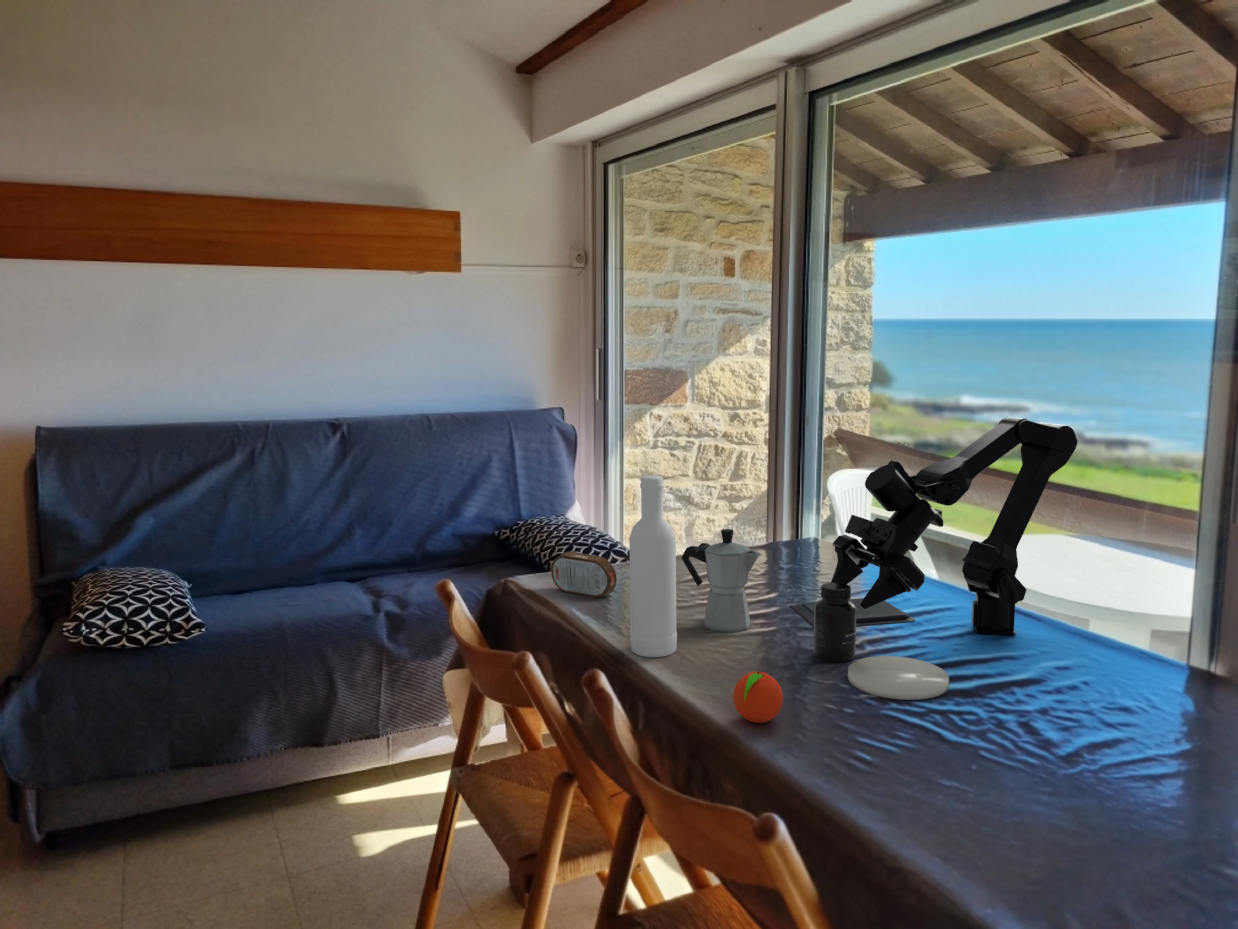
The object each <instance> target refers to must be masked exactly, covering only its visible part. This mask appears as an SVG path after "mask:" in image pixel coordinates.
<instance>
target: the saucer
mask: <svg viewBox="0 0 1238 929" xmlns="http://www.w3.org/2000/svg"><path fill="white" fill-rule="evenodd" d="M847 679H848V681H849V683H850V684H851V685H852V687H855V688H856V689H858V690H859V691H861V692H865V693H867V694H869V695H872V696H876V697H881V698H887V699H892V700H902V701H903V700H905V701H913V700H914V701H915V700H927V699H932V698H935V697H939V696H941V695H943V694H945V693H946V692H947V691H948V689H949V687H950V686H949V685H950V684H949V683H950V677H949V674H948V673H947V672H946V671H945V669H943V668H941V667H939V666H937V665H935V664H933V663H930V662H928V661H923V660H920V659H915V658H911V657H904V656H891V655H888V656H886V655H883V656H882V655H881V656H870V657H869V656H868V657H866V658H861V659H858V660H856V661H854V662H852V663H851V664H849V666H848V667H847Z"/></svg>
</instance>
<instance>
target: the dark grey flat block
mask: <svg viewBox="0 0 1238 929" xmlns="http://www.w3.org/2000/svg"><path fill="white" fill-rule="evenodd" d="M863 599H864V598H854V599H852V598H851V599H849V600H850V601H851V602H852V603H854V605H855V606H856V612H857V613H856V628H857V627H866V626H869V627H870V626H880V625H894V624H896V625H897V624H909V623H916V619H915V618H914V617H912V616H911V615H909V614H908V613H906V612H904V611H902V610H901V609H899V608H898V607H896V606H895V605H893V604H891V603H890V602H888V601H886V600H884V601H882V602H880V603H878V604H875V605H873V606H871V607H869V608H867V609H863V608H862V607H861V605H860V604H861V602H862V601H863ZM817 602H818V601H813V602H802V603H800V604H790V605H789V607H790V608H791V610H793V611H794V612H795V613H796V614H797V615H798V616H799V617H801V618H802V619H803V620H804V621H806V622H807V623H808V624H809V625H810V626H812V627H813V628H814V611H815V605H816V603H817Z"/></svg>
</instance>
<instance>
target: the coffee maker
mask: <svg viewBox="0 0 1238 929" xmlns="http://www.w3.org/2000/svg"><path fill="white" fill-rule="evenodd" d="M720 533H721V540H722V542H718V543H714V544H710V543H708V542H702V543H700V544H699V545H697V546H695V545H691V546H687V547H686V548H685V550H684V552H683V554H682V556H681V561H682V562H683V563H684V565H685V567H686V569H687V570H688V572H689V574H690V575H691V577H692V579H693V581H694V583H695V584H696V586H697V587H700V585H702V583H703V580H702V578H701V576H700V575H699V573H698V572H697V570H696V568H695V567H694V566H695V565H693V563H692V561H691V559H690V557H692V558H694V559H696V560H698V561H700V562H703V563H705V569H706V574H707V576H706V577H707V582H708V583H709V585H710V589H709V590H708V597H707V601H706V602H707V603H706V608H705V615H704V621H703V627H705V628H706V629H708V630H711V631H712V632H718V633H727V634H728V633H730V634H732V633H738V632H744V631H747V630H748V629H749V628H750V626H751V618H750V612H749V604H748V598H747V594H746V593H747V591H746V589H745V586H746V585H747V584H748V578H749V573H750V571H751V570H752V568H753V567H754V565H755V562H756V561H757V559H758V558H759V557H760V556H762V553H759V552H757V551H755V550H752V549H751V548H750V547H749V546H748V545H745V544H741V543H736V542H733V536H734V530H733V529H731V528H722V529H720Z"/></svg>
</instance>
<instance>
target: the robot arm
mask: <svg viewBox="0 0 1238 929" xmlns="http://www.w3.org/2000/svg"><path fill="white" fill-rule="evenodd" d="M1019 445H1021V446H1020V454H1021V456H1020V457H1021V464H1022V465H1021V467H1020V469H1019V472H1018V474H1017V476H1016V478H1015V480H1014V482H1013V484H1012V487H1011V489H1010V490H1009V492H1008V495H1007V497H1006V499H1005V502H1004V503H1003V505H1002V507H1001V510H1000V511H999V515H998V516H997V519H996V520H995V523H994V525H993V527H992V528H991V531H990V533H989V535H988V537H987V538H985V539H984V540H982V541H981V542H979V541H976V540H973V541H972V542H971V543H970V545H969V549H968V551H967V554H966V555H965V556H964V557H963V558H962V562H964V563H963V565H962V573H963V578H964V580H965V582H966V584H967V588H968V591H969V592H971V593H975V600H973V601H972V606H971V625H972V626H973V627H974V628H975V632H976V633H978V634H989V635H1003V636H1016V634H1017V632H1016V629H1015V619H1016V604H1018V602H1022V601H1024V599H1025V596H1026V593H1027V588H1026V586H1024V584H1022V582H1021V581H1020V580H1019V579H1018V578H1017V576H1016V574H1017V571H1018V568H1019V560H1018V554H1017V553H1018V552H1017V548H1018V545H1019V544H1020V541H1021V540H1022V537H1023V536H1024V533H1025V531H1026V529H1027V526H1028V524H1029V522H1030V520H1031V519H1032V516H1033V514H1034V511H1035V510H1036V507H1037V505H1038V503H1039V502H1040V499H1041V496H1042V495H1043V492H1044V490H1045V488H1046V485H1047V484H1048V481H1049V480H1050V478H1051V476H1053V475H1054V474H1055V473H1056V472H1057V471H1059V470H1060V469H1061V468H1063V467H1064V466H1065V465H1066V464H1067V463H1068V461H1069V460H1070V458H1071V457H1072V456H1073V454H1074V452H1075V451H1076V449H1077V446H1078V438H1077V435H1076V432H1075V431H1074V429H1073V428H1072V427H1071V426H1069V425H1065V424H1056V423H1048V422H1034V421H1032V420H1029V419H1027V418H1022V417H1014V416H1007V417H1004V418H1002V419H1001V420H1000V421H998V424H997V425H996V426H994V427H993V428H991V429H990V430H988V431H987V432H986V433H985V434H983V435H981V437H979V438H978V439H976V440H975V441H974V442H972V443H970V445H968V446H967V447H965V448H964V449H962V450H961V451H960V452H959V453H957V454H956V455H954V456H952V457H950V458H947V459H943V460H940V461H937V462H934V463H932V464H930V465H927V466H925V467H924V468H922V469H920V470H919V471H918V472H917V473H916V474H914V475H909V474H908V472H907V471H906V470H905V469H904V466H903V465H902V464H901V463H900V462H899V461H897V460H896V461H895V460H890V461H889V462H888V463H886V464H885V465H882V466H880V467H878V468H876V469H874V470H873V471H871V472H870V473H869V474H868V476H866V479H865V482H864V487H865V488H866V490H867V491H868V492H869V493H870V494H871V496H872V497H873V498H875V500H876V502H878V504H880V506H881V507H882V508H883V509H884V510H885V511H886V512H893V514H892V515H891V516H890V517H889V518H888V520H885V519H883V518H879V517H876V518H875V519H874V520H873V521H872V520H869V519H866V518H863V517H861V516H858V515H855V514H851V515H850V518H849V520H848V523H847V524H846V527H845V530H844V533H846V534H842V535H841V534H840V535H838V536H837V538H836V539H835V540H834V541H833V542H832V546H833V547H834V552H835V554H836V556H837V563H836V567H835V569H834V573H833V575H832V578H831V581H830V583H842V584H846V585H849V583H851V582H852V581H853V580H854V579H856V578H858V577H859V576H860V575H861V574H862V573H863V572H864V571H863V570H862V569H863V568H867V567H868V566H869V564H871V565H873V566H876V567H878V568H879V570H878V572H879V573H878V577H877V579H876V581H875V582H874V583H873V585H872V586H871V587H870V589H869V590H868V591H867V592H866V594H865V595H864V598H862V599H863V601H862V602H861V604H860V605H861V607H862V608H863V609H867V608H869V607H871V606H873V605H875V604H878V603H880V602H882V601H884V600H885V601H886V600H888V599H890V598H893V597H896V596H899V595H902V594H903V593H910V592H911V591H912V590H914V591H916V592H918V591H919V590H920V588H921V587H922V586H923V585H924V583H925V578H926V577H925V575H926V574H925V573H924V572H923V570H921V569H920V567H918V565H917V564H916V563H915V562H914V561H913V560H912V558H911V557H908V556H906V555H907V553H908V552H909V551H912V552H916V551H917V549H918V548H919V546H918V545H917V543H916V542H917V541H918V539H920V537H921V535H922V534H923V533H924V532H926V529H927V528H928V527H929V526H931V525H932V526H936V527H940V528H943V527H944V519H943V511H942V510H940V509H937V508H934V507H933V506H932V505H931V504H930V502H931V503H933V504H934V503H935V504H939V505H942V506H947V507H948V506H949V507H950V506H953V505H954V504H956V503H958V502H959V500H960V499H961V498H962V497H963V496H965V494H966V493H967V492H968V491H969V490H970V487H971V485H972V482H973V480H974V479H975V478H976V477H977V476H978V475H979V474H981V473H983V471H985V470H986V469H987V468H989V467H990V466H992V465H993V464H994V463H996V462H997V461H998V460H1000V459H1001V458H1002V457H1004V456H1005V455H1006V454H1008V453H1009V452H1010V451H1012V450H1014V448H1016V447H1017V446H1019ZM847 534H848V535H847ZM851 534H852V535H854V536H855V537H859V538H860V541H859V540H858V539H857V538H855V537H852V536H850V535H851ZM865 547H866V548H865Z"/></svg>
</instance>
